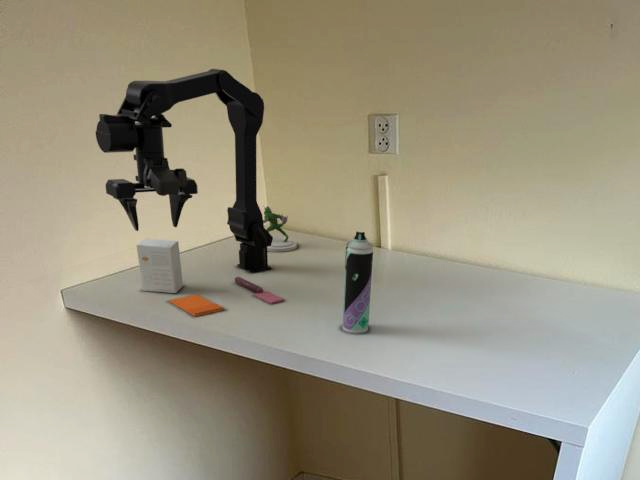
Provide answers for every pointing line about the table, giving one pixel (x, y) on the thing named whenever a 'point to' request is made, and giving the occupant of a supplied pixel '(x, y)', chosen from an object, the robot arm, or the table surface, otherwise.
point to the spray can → (357, 284)
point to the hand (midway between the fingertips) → (156, 228)
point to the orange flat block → (196, 305)
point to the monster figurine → (278, 242)
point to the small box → (160, 265)
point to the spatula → (259, 291)
